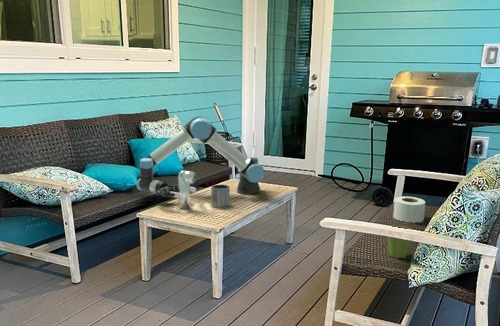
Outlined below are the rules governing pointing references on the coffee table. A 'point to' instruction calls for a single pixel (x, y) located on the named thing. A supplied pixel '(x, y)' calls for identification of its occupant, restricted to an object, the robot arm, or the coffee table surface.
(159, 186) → the robot arm
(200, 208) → the birch board
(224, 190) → the grey wooden bucket
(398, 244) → the plant pot
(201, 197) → the coffee table surface
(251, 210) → the coffee table surface
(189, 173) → the polished capsule rod
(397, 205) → the toilet paper roll
